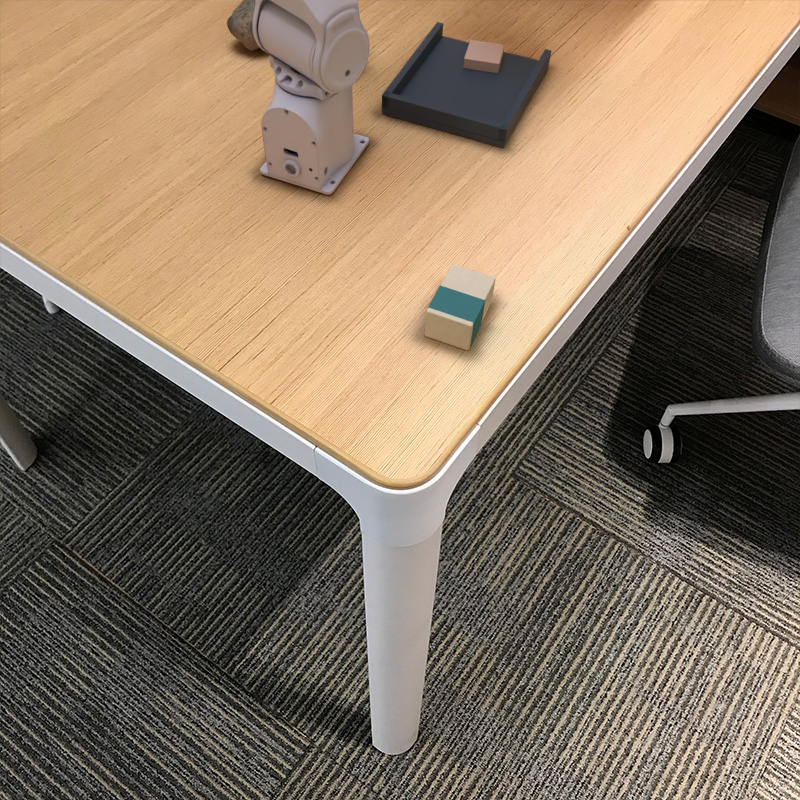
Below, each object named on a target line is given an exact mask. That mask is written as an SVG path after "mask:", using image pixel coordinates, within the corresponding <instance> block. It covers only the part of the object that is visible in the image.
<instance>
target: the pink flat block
mask: <svg viewBox="0 0 800 800" xmlns="http://www.w3.org/2000/svg"><path fill="white" fill-rule="evenodd" d="M503 52H505V44H502V43H495V42H488V41H482V40H475V39H470V40H469V45H468V48H467V51H466V54H465V57H464V65H463V68H466V69H473V70H479V71H486V72H492V73H498V71H499V68H500V64H501V60H502V57H503Z"/></svg>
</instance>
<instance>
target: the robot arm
mask: <svg viewBox="0 0 800 800" xmlns="http://www.w3.org/2000/svg"><path fill="white" fill-rule="evenodd" d="M359 5H360V4H359V1H358V0H255V10H254V16H253V24H252V27H253V35H254V38H255V41H256V43H257V44H258V46H259V47H260V48H259V49H261V50H262V51H263V52H264V53H266V54H268V58H269V66H270V68H271V69H272V70H273V74H274V75H273V76H274V90H273V94H272V95H273V96H272V98H271V101H270V103H269V105H268V107H267V108H266V110H265V112H264V113H263V114H262V118H261V122H260V124H261V125H260V126H261V127H260V128H261V134H262V141H263V147H264V148H263V149H264V155H265V162H264V163H263V165H262V166H261V167H260V168H259V172H260V174H261V175H263V176H266V177H269V178H272V179H275V180H278V181H282V182H285V183H289V184H292V185H295V186H298V187H301V188H305V189H308V190H311V191H314V192H318V193H320V194H324V195H327V196H329V195H332V194H333V193H334V192H335V190H336V189H337V188H338V187H339V185H340V183H341V182H342V181H343V179H344V178H345V177H346V175H347V174H348V173H349V171H350V170H351V169H352V167H353V166H354V164H355V163H356V162H357V160H358V159H359V157H360V156H361V155H362V154H363V152H364V151H365V149H366V148H367V147H368V145H369V144H370V138H369V137H368V136H366V135H361V134H358V133H355V130H354V126H355V125H354V96H353V94H354V93H353V92H354V91H353V85H354V84H355V83H357V82H358V80H359V78H360V77H361V76H362V74H363V73H364V70H365V68H366V65H367V63H368V60H369V55H370V37H369V34H368V31H367V29H366V27H365V25H364V24H363V21H362V18H361V16H360V6H359Z"/></svg>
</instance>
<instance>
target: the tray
mask: <svg viewBox="0 0 800 800" xmlns="http://www.w3.org/2000/svg"><path fill="white" fill-rule="evenodd" d="M443 32H444V23H443V22H439V21H437V22H436V23H435V24H434V26H433V27H432V28H431V30H430V31H429V32H428V33H427V35H426V36H425V37H424V39H423V40H422V41H421V43H420V44H419V45H418V47H417V48H416V50H414V52H413V53H412V54H411V56H410V57H409V58H408V59H407V61H406V63H405V64H404V65H403V66H402V68H401V69H400V71H399V72H398V73H397V75H396V76H395V77H394V78H393V80H391V82H390V83H389V85H388V86H387V88H386V89H385V90H384V92H383V93H382V94H381V114H382V115H386V116H389V117H393V118H395V119H396V118H397V119H400V120H403V121H407V122H410V123H413V124H417V125H421V126H425V127H427V128H432V129H435V130H438V131H442V132H445V133H449V134H452V135H456V136H460V137H463V138H467V139H471V140H474V141H478V142H480V143H485V144H488V145H491V146H494V147H495V146H496V147H498V148H502V149H504V148H505V147H506V145H507V143H508V141H509V140H510V138H511V136H512V134H513V132H514V131H515V129H516V127H517V125H518V123H519V122H520V119H521V118H522V116H523V115H524V113H525V111H526V110H527V108H528V106H529V104H530V102H531V100H532V98H533V97H534V95H535V93H536V91H537V90H538V87H539V86H540V84H541V82H542V81H543V79H544V77H545V76H546V73H547V72H548V70H549V67H550V61H551V56H552V50H551V49H548V48H544V50H543V51H542V53H541V55H540V57H539V59H535V58H531V57H528V56H523V55H521V54H520V55H519V54H515V53H511V52H508V51H504V52H503V57H502V60H501V64H500V68H499V71H498V73H492V72H486V71H479V70H473V69H466V68H463V65H464V57H465V54H466V51H467V48H468V45H469V42H470V41H469V42H468V41H464V40H460V39H456V38H453V37H449V36H444V35H443Z"/></svg>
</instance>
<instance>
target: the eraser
mask: <svg viewBox="0 0 800 800" xmlns="http://www.w3.org/2000/svg"><path fill="white" fill-rule="evenodd" d="M496 279H497V278H496V277H495V276H492V275H489V274H487V273H486V274H485V273H482V272H479V271H477V270H473V269H471V268H467V267H464V266H460V265H458V264H455V263H452V264H451V266H450V267H449V269H448V271H447V273H446V275H445V276H444V277H443V280H442V282H441V284H440V285H439V286H438V288H437V290H436V291H435V293H434V295H433V297H432V299H431V300H430V302H429V304H428V306H427V308H426V311H425V312H426V313H425V325H424V336H425V337H426V338H430V339H432V340H435V341H437V342H442V343H444V344H447V345H451V346H453V347H456V348H459V349H462V350H465V351H469V350H470V348H471V347H472V345H473V343H474V341H475V339H476V337H477V334H478V333H479V331H480V329H481V327H482V323H483V321H484V319H485V317H486V315H487V313H488V311H489V309H490V306H491V305H492V302H493V296H494V290H495V286H496Z"/></svg>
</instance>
